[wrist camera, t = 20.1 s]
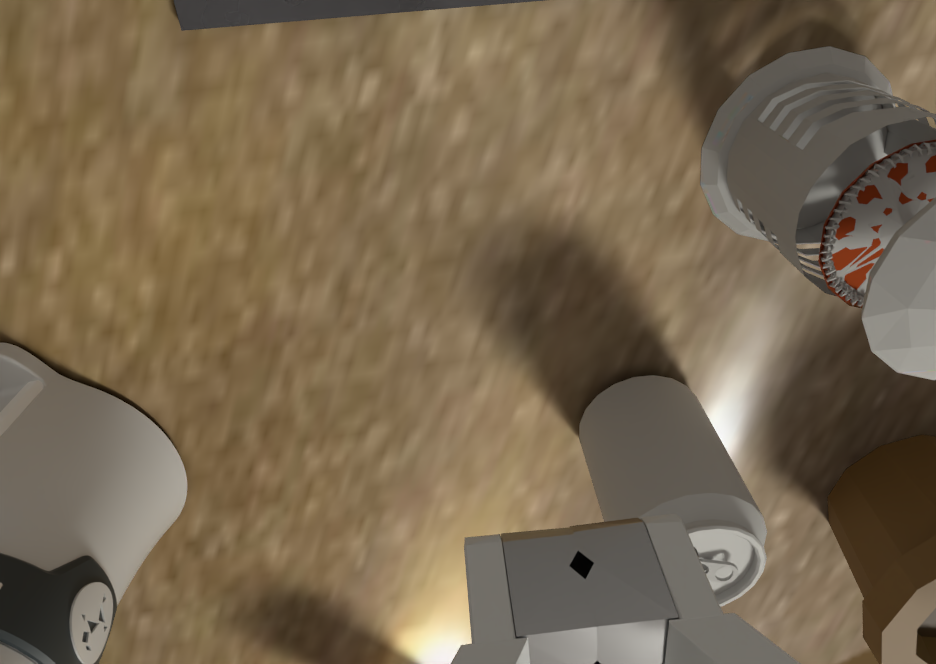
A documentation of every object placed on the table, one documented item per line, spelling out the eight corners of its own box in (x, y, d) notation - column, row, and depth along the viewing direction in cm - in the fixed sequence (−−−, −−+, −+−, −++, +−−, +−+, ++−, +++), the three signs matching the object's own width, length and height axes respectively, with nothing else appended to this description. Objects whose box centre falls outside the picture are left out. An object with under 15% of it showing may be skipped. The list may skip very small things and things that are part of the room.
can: (586, 364, 41) (643, 520, 31) (710, 368, 42) (804, 521, 32) (567, 460, 45) (611, 625, 35) (680, 462, 46) (755, 625, 36)
